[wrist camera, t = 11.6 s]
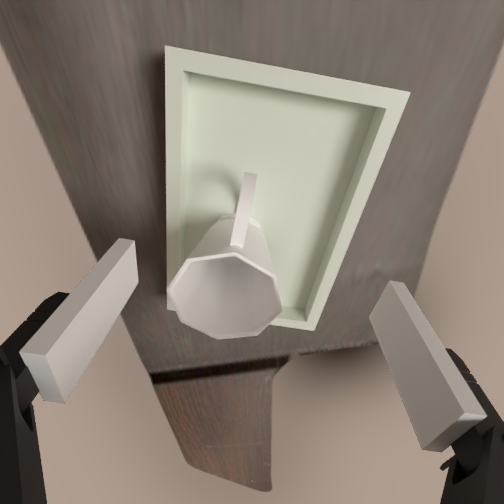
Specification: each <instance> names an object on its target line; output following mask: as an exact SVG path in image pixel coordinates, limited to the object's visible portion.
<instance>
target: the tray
mask: <svg viewBox="0 0 504 504" xmlns="http://www.w3.org/2000/svg"><path fill="white" fill-rule="evenodd" d="M410 93H411V92H407V91H402V90H396V89H391V88H386V87H381V86H375V85H370V84H365V83H360V82H354V81H349V80H344V79H339V78H333V77H328V76H323V75H318V74H312V73H307V72H302V71H297V70H291V69H286V68H281V67H276V66H270V65H265V64H260V63H255V62H249V61H244V60H239V59H234V58H228V57H223V56H218V55H213V54H207V53H202V52H197V51H192V50H186V49H181V48H176V47H171V46H165V114H166V232H167V288H168V286H169V285H170V283H171V282H172V280H173V279H174V277H175V276H176V274H177V273H178V271H179V270H180V268H181V267H182V266H183V264H184V263H185V261H186V260H187V258H188V257H189V255H190V254H191V253H192V251H193V250H194V249H195V247H196V246H197V245H198V244H199V242H200V241H201V240H202V238H203V237H204V236H205V234H206V233H207V231H208V230H209V229H210V228H211V227H212V226H213V225H214V224H215V223H217V221H218V220H219V218H220V217H221V215H226V214H232V213H236V211H237V207H238V202H239V197H240V192H241V187H242V182H243V178H244V173H245V172H249V173H254V174H257V179H256V186H255V192H254V198H253V203H252V209H251V214H250V217H251V218H252V219H254V220H255V221H257V222H258V223H259V224H260V229H261V232H262V234H263V236H264V237H265V239H266V242H267V246H268V249H269V253H270V257H271V260H272V263H273V266H274V270H275V273H276V277H277V283H278V288H279V294H280V300H281V305H282V312H281V313H280V314H279V315H278V316H277V317H276V318H275V319H274V320H273V321H272V322H271V323H270V325H277V326H284V327H291V328H298V329H305V330H312V331H314V330H315V327H316V325H317V323H318V320H319V318H320V315H321V313H322V310H323V308H324V305H325V303H326V300H327V298H328V295H329V293H330V290H331V288H332V285H333V283H334V281H335V278H336V276H337V273H338V271H339V268H340V266H341V263H342V261H343V258H344V256H345V253H346V251H347V248H348V246H349V244H350V241H351V239H352V236H353V234H354V231H355V229H356V226H357V224H358V221H359V219H360V216H361V214H362V211H363V209H364V207H365V204H366V202H367V199H368V197H369V194H370V192H371V189H372V187H373V184H374V182H375V179H376V177H377V174H378V172H379V169H380V167H381V165H382V162H383V160H384V157H385V155H386V152H387V150H388V147H389V145H390V142H391V140H392V137H393V135H394V132H395V130H396V128H397V125H398V123H399V120H400V118H401V115H402V113H403V110H404V108H405V105H406V103H407V100H408V98H409V95H410ZM167 310H174V311H176V310H175V308H174V306H173V304H172V302H171V299H170V297H169V295H168V293H167Z"/></svg>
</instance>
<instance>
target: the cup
mask: <svg viewBox="0 0 504 504" xmlns="http://www.w3.org/2000/svg"><path fill="white" fill-rule="evenodd" d="M256 179H257V174H254V173H249V172H245V173H244V178H243V182H242V187H241V192H240V197H239V202H238V207H237V211H236V213H232V214H226V215H221V217H220V218H219V220H218V221H217V223H215V224H214V225H213V226H212V227H211V228H210V229H209V230H208V231H207V233H206V234H205V236H204V237H203V238H202V240H201V241H200V242H199V244H198V245H197V246H196V247H195V249H194V250H193V251H192V253H191V254H190V255H189V257H188V258H187V260H186V261H185V263H184V264H183V266H182V267H181V268H180V270H179V271H178V273H177V274H176V276H175V277H174V279H173V280H172V282H171V283H170V285H169V286H168V288H167V289H166V290H167V293H168V295H169V297H170V299H171V302H172V304H173V306H174V308H175V310H176V313H177V315H178V317H179V319H180V322H182V323H184V324H186V325H188V326H190V327H192V328H194V329H196V330H198V331H201V332H203V333H205V334H207V335H209V336H211V337H213V338H215V339H226V338H237V337H248V336H257V335H258V334H259V333H260V332H261V331H262V330H263V329H265V328H266V327H267V326H268V325H269V324H270V323H271V322H272V321H273V320H274V319H275V318H276V317H277V316H278V315H279V314H280V313H281V312H282V305H281V300H280V294H279V288H278V283H277V277H276V273H275V270H274V266H273V263H272V260H271V257H270V253H269V249H268V246H267V242H266V239H265V237H264V236H263V234H262V232H261V229H260V224H259V223H258V222H257V221H255V220H254V219H252V218H251V217H250V214H251V209H252V203H253V198H254V192H255V186H256Z"/></svg>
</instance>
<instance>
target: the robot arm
mask: <svg viewBox="0 0 504 504" xmlns="http://www.w3.org/2000/svg"><path fill="white" fill-rule="evenodd" d="M138 283H139V282H138V271H137V260H136V249H135V240H129V239H123V238H119V239H118V240H117V241H116V242H115V243H114V244H113V245H112V247H111V248H110V249H109V250H108V251H107V252H106V253H105V255H104V256H103V257H102V258H101V259H100V260H99V261H98V263H97V264H96V265H95V266H94V267H93V268H92V269H91V271H90V272H89V273H88V274H87V275H86V276H85V277H84V279H83V280H82V281H81V282H80V283H79V284H78V285H77V287H76V288H75V289H74V290H73V291H72V292H71V293H63V292H58V293H56V294H54V295H52V296H51V297H49V298H47V299H46V300H44V301H43V302H42V303H41V304H40V305H39V307H38V308H37V309H36V310H35V312H33V313H32V314H31V315H30V316H29V317H28V318H27V321H24V322H23V323H22V324H21V325H20V326H19V327H18V328H17V329H16V330H15V331H14V332H13V333H12V334H11V336H10V337H9V338H8V339H7V340H6V341H5V342H4V343H3V344H2V345H1V346H0V504H47V500H46V493H45V486H44V479H43V472H42V465H41V458H40V451H39V444H38V437H37V430H36V423H35V416H34V409H33V405H32V403H31V402H32V401H33V399H34V398H35V396H36V395H37V394H38V392H39V393H40V395H41V397H42V399H43V401H50V402H58V403H66V402H67V400H68V398H69V396H70V395H71V393H72V392H73V390H74V388H75V387H76V385H77V383H78V381H79V380H80V378H81V377H82V375H83V373H84V372H85V370H86V368H87V367H88V365H89V364H90V362H91V360H92V359H93V357H94V355H95V354H96V352H97V350H98V349H99V347H100V345H101V344H102V342H103V340H104V338H105V337H106V335H107V334H108V332H109V330H110V329H111V327H112V325H113V324H114V322H115V321H116V319H117V317H118V316H119V314H120V312H121V311H122V309H123V307H124V306H125V304H126V302H127V301H128V299H129V297H130V296H131V294H132V292H133V291H134V289H135V287H136V286H137V284H138ZM369 319H370V322H371V324H372V326H373V329H374V331H375V334H376V336H377V339H378V341H379V344H380V346H381V349H382V351H383V354H384V356H385V359H386V361H387V364H388V366H389V369H390V371H391V374H392V376H393V379H394V381H395V384H396V386H397V389H398V391H399V394H400V396H401V398H402V401H403V404H404V406H405V408H406V411H407V413H408V416H409V418H410V421H411V423H412V426H413V428H414V431H415V433H416V436H417V438H418V441H419V443H420V446H421V448H422V450H428V451H436V452H443V451H444V450H445V449H446V448H448V447H449V446H450V445H451V446H452V448H453V450H454V452H455V455H454V456H453V457H451V458H450V459H449V460H447V461H446V462H445V463H443V464H442V465H441V467H440V469H441V470H442V471H443V470H445V469H446V468H447V467H449V469H448V474H447V477H446V482H445V486H444V490H443V494H442V498H441V503H440V504H504V422H503V421H502V419H501V418H500V416H499V415H498V413H497V412H496V410H495V409H494V407H493V405H492V404H491V402H490V401H489V399H488V398H487V396H486V395H485V393H484V392H483V390H482V389H481V387H480V386H479V385H478V384H477V383H476V382H477V381H476V380H475V378H474V377H473V375H472V374H470V371H469V369H468V368H467V366H466V365H465V363H464V362H463V360H462V359H460V357H459V356H458V355H457V354H456V353H454V351H452V350H451V349H447V348H444V346H443V345H442V343H441V342H440V340H439V338H438V337H437V335H436V334H435V332H434V330H433V329H432V327H431V326H430V324H429V322H428V321H427V319H426V318H425V316H424V314H423V313H422V311H421V310H420V308H419V307H418V305H417V303H416V302H415V300H414V299H413V297H412V295H411V294H410V292H409V291H408V289H407V287H406V286H405V284H404V283H402V282H396V281H389V282H388V284H387V286H386V287H385V289H384V291H383V293H382V295H381V296H380V298H379V300H378V302H377V303H376V305H375V307H374V309H373V311H372V312H371V314H370V316H369Z"/></svg>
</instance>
